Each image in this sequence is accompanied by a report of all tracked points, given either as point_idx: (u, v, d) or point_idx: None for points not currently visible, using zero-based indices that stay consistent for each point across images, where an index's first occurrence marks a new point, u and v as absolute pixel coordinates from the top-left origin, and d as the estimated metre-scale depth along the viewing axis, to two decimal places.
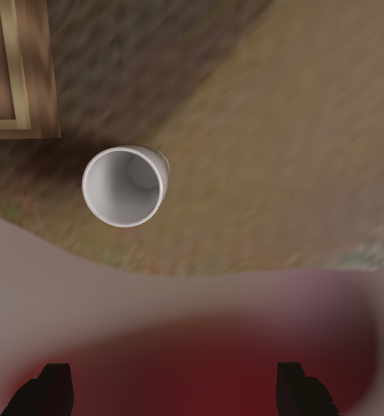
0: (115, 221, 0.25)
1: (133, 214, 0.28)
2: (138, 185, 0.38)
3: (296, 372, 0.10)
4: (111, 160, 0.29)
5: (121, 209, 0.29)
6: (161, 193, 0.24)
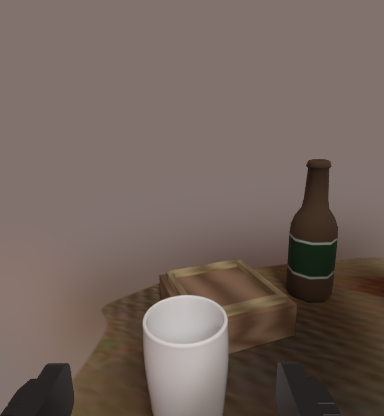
0: (146, 324, 0.23)
1: None
2: None
3: (296, 372, 0.10)
4: None
5: None
6: (194, 344, 0.20)
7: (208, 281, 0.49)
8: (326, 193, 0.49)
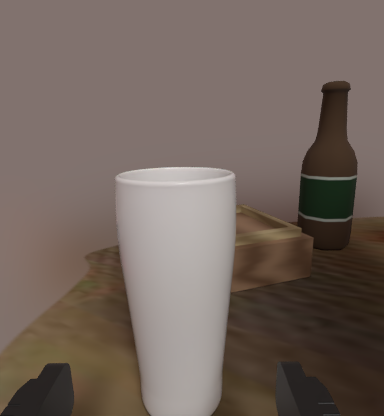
0: None
1: None
2: None
3: (296, 372, 0.10)
4: None
5: None
6: (186, 182, 0.14)
7: None
8: (345, 120, 0.43)
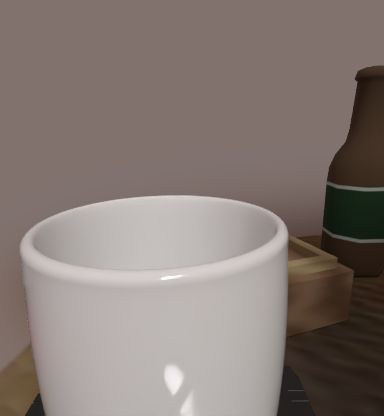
0: (46, 241, 0.08)
1: None
2: None
3: None
4: None
5: None
6: (179, 273, 0.05)
7: None
8: None
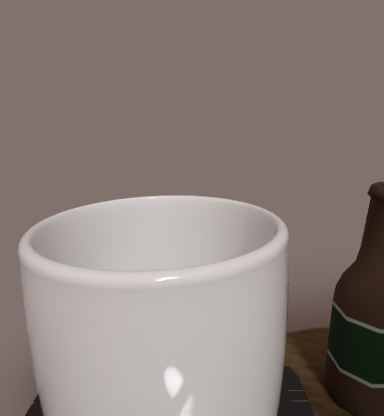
0: (45, 242, 0.08)
1: None
2: None
3: None
4: None
5: None
6: (178, 274, 0.05)
7: None
8: None
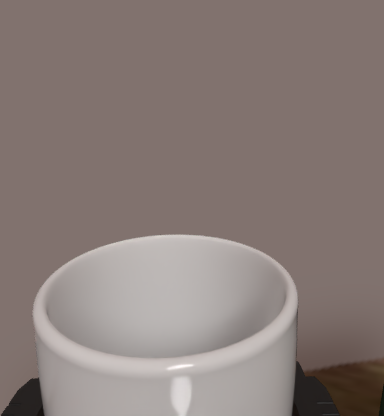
0: (56, 296, 0.08)
1: None
2: None
3: None
4: None
5: None
6: (196, 362, 0.05)
7: None
8: None
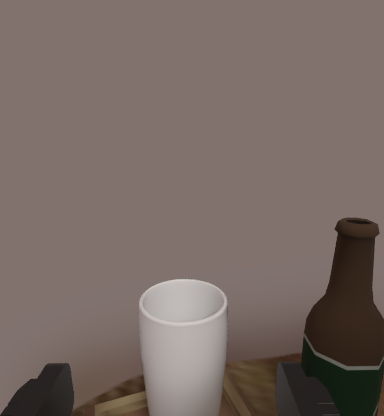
0: (142, 306, 0.22)
1: None
2: None
3: (296, 372, 0.10)
4: None
5: None
6: (193, 322, 0.19)
7: None
8: (370, 277, 0.29)
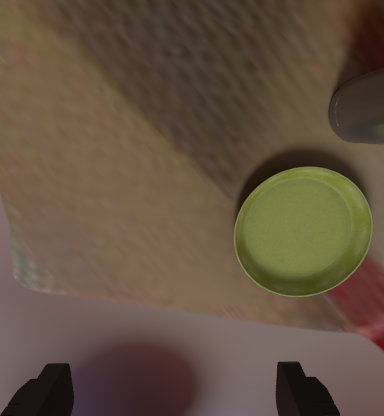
0: None
1: None
2: None
3: (296, 372, 0.10)
4: None
5: None
6: None
7: None
8: None
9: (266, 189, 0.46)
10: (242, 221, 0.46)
